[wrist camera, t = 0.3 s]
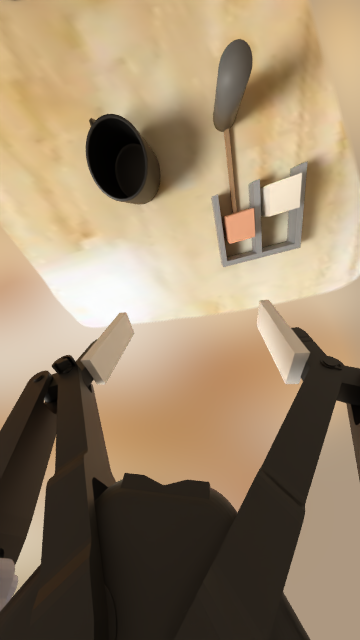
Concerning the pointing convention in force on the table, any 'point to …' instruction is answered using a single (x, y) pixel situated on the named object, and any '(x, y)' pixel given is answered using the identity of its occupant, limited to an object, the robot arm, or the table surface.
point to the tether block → (227, 103)
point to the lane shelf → (257, 251)
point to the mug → (121, 160)
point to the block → (281, 196)
